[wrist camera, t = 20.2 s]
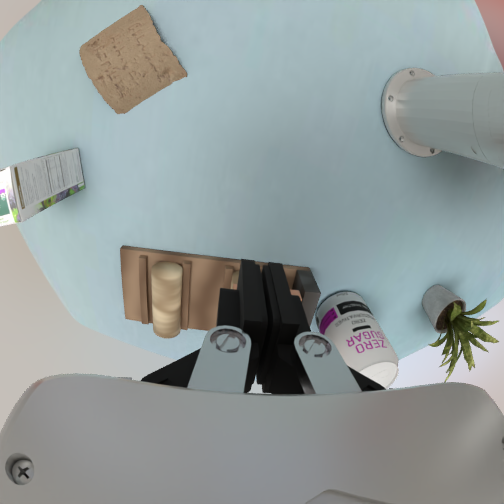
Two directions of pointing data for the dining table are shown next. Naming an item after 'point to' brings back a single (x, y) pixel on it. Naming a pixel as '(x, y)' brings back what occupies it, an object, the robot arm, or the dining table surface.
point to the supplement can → (358, 337)
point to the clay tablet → (130, 61)
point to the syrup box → (38, 185)
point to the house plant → (455, 324)
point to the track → (197, 285)
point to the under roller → (166, 298)
